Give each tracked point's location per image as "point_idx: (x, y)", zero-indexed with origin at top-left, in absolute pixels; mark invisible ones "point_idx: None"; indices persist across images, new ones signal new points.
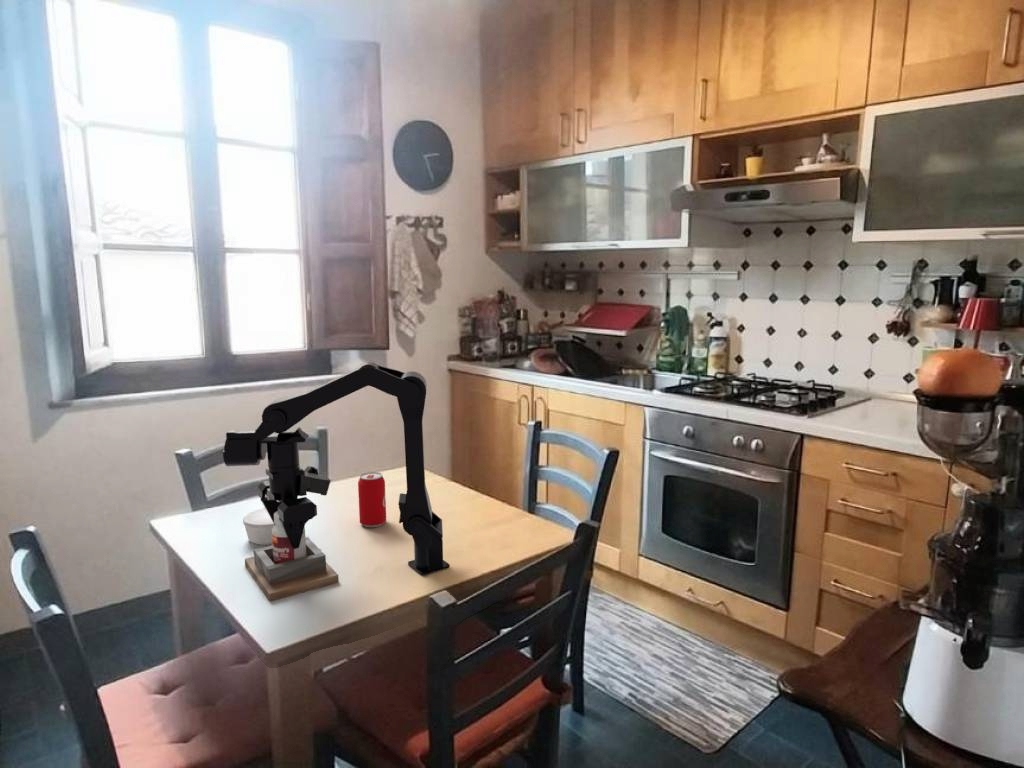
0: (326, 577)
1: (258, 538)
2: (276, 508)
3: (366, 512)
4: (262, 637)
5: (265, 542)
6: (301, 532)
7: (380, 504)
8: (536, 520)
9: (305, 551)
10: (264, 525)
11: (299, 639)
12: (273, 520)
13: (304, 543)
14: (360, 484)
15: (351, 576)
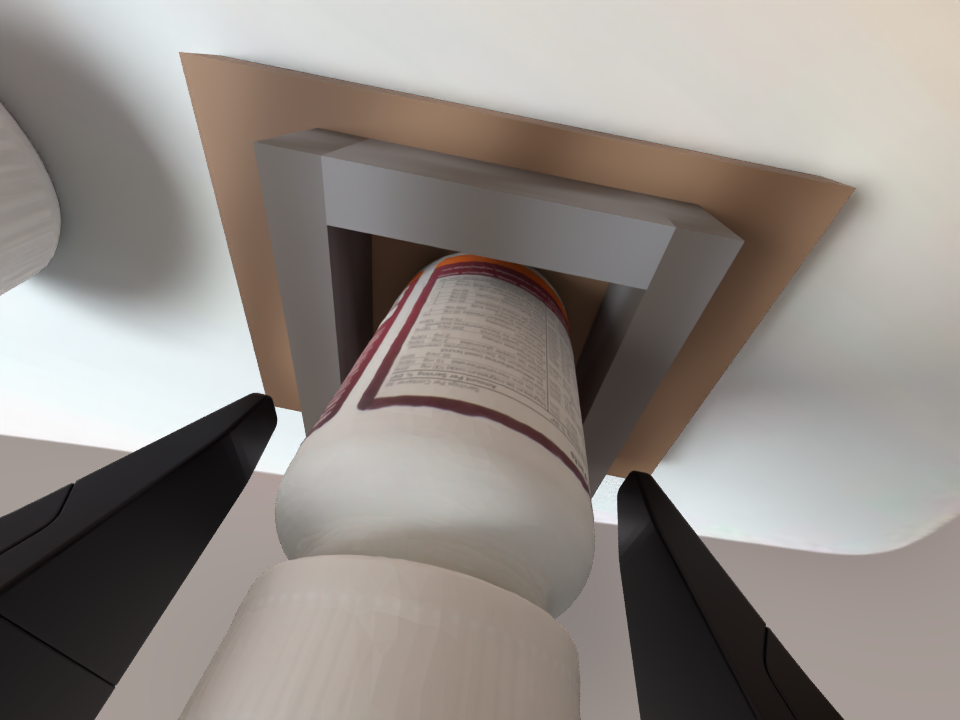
0: (791, 268)
1: (27, 274)
2: (56, 676)
3: None
4: (806, 543)
5: (54, 238)
6: (766, 640)
7: None
8: None
9: (545, 319)
10: None
11: (955, 512)
12: (199, 553)
13: (555, 370)
14: None
15: (867, 39)
